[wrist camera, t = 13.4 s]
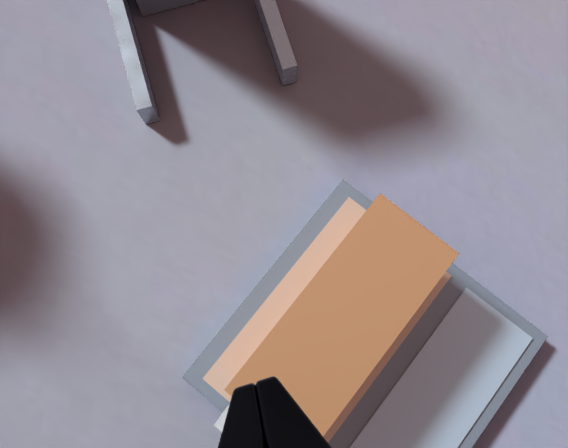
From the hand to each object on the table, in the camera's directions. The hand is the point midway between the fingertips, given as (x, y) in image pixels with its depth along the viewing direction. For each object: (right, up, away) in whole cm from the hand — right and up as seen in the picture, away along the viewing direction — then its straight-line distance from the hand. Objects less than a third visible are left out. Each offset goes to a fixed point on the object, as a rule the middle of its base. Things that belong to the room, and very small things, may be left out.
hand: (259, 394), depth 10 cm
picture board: (+4, -2, +12) cm, 13 cm away
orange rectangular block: (+3, -1, +12) cm, 12 cm away
